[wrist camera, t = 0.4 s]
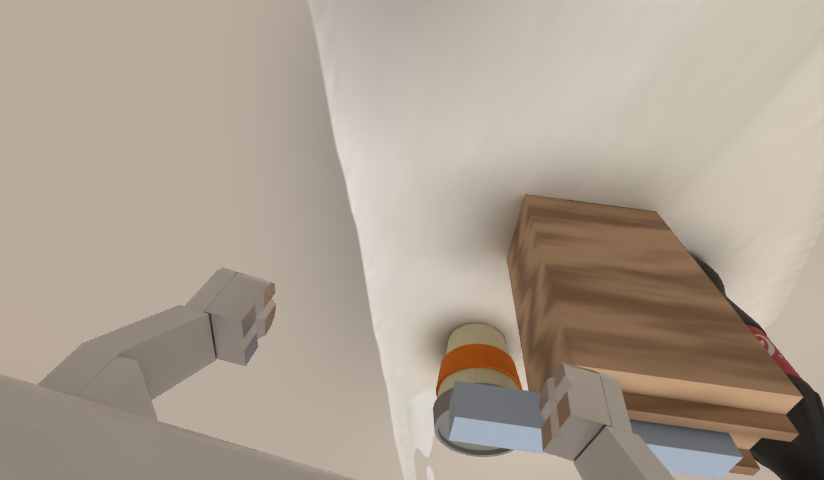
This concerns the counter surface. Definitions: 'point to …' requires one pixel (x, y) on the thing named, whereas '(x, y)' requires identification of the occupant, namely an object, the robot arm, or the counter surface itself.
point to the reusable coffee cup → (472, 377)
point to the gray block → (521, 422)
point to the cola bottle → (817, 426)
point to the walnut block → (641, 322)
